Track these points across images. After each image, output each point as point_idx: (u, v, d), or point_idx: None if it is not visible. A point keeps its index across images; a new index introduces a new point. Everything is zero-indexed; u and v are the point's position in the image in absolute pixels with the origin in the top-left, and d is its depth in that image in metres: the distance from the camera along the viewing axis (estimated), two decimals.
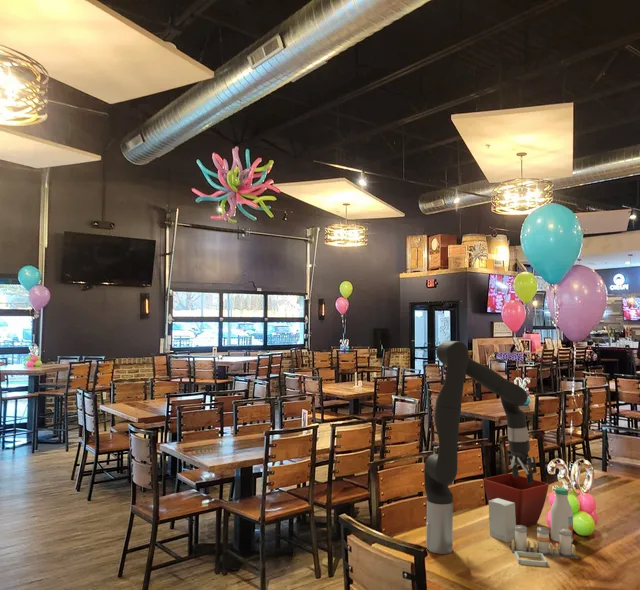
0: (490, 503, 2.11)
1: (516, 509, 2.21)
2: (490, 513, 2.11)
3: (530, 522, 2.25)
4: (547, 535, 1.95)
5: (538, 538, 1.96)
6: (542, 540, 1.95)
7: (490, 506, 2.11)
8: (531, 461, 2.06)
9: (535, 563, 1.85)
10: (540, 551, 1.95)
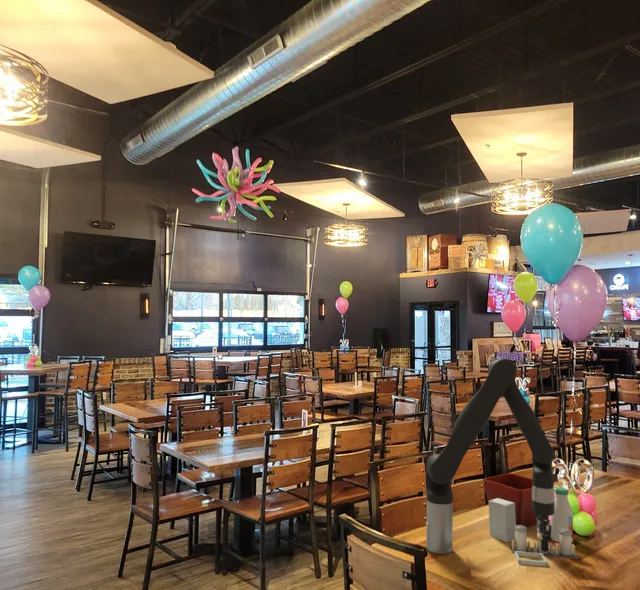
0: (490, 503, 2.11)
1: (516, 509, 2.21)
2: (490, 513, 2.11)
3: (530, 522, 2.25)
4: None
5: (538, 538, 1.96)
6: None
7: (490, 506, 2.11)
8: (546, 530, 1.90)
9: (535, 563, 1.85)
10: (540, 551, 1.95)
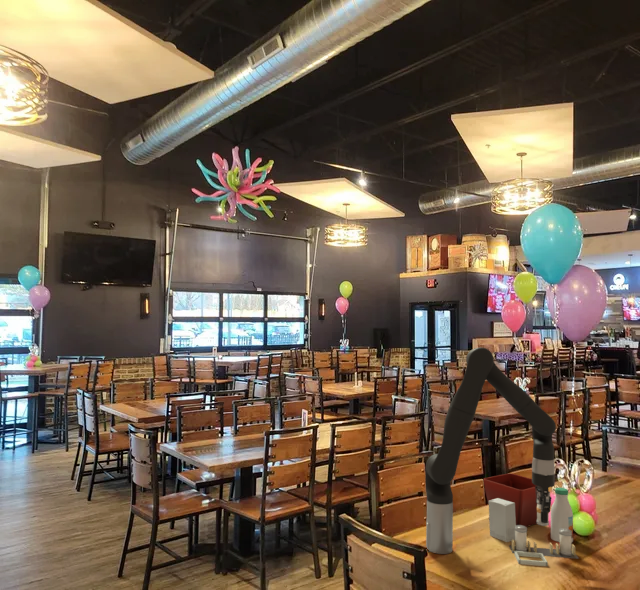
0: (490, 503, 2.11)
1: (516, 509, 2.21)
2: (490, 513, 2.11)
3: (530, 522, 2.25)
4: None
5: (538, 510, 1.96)
6: None
7: (490, 506, 2.11)
8: (546, 500, 1.91)
9: (535, 563, 1.85)
10: (540, 523, 1.95)
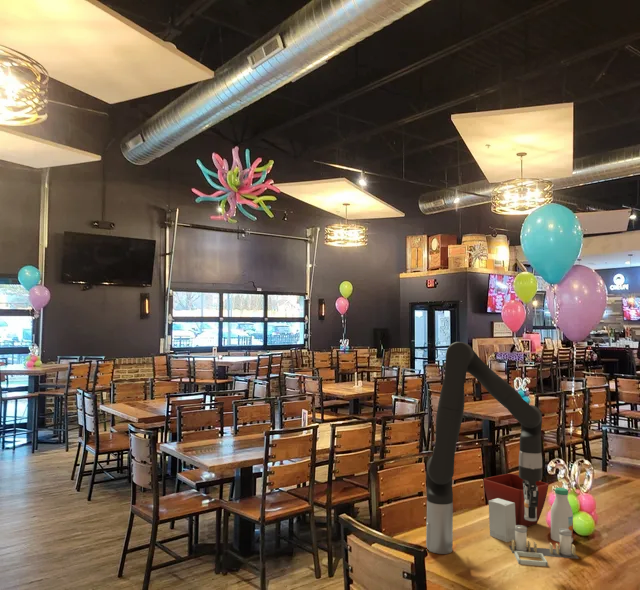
0: (490, 503, 2.11)
1: (516, 509, 2.21)
2: (490, 513, 2.11)
3: (530, 522, 2.25)
4: None
5: (525, 505, 1.89)
6: None
7: (490, 506, 2.11)
8: (533, 495, 1.84)
9: (535, 563, 1.85)
10: (528, 518, 1.88)
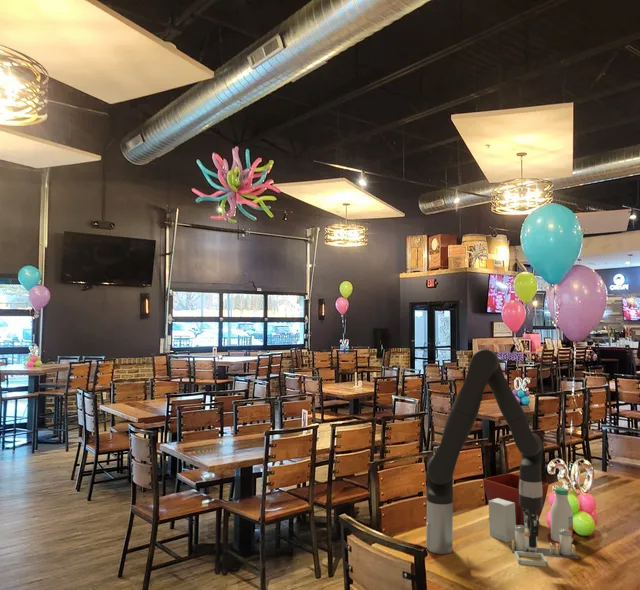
0: (490, 503, 2.11)
1: (516, 509, 2.21)
2: (490, 513, 2.11)
3: None
4: None
5: (526, 534, 1.89)
6: None
7: (490, 506, 2.11)
8: (533, 525, 1.83)
9: (535, 563, 1.85)
10: (528, 547, 1.88)
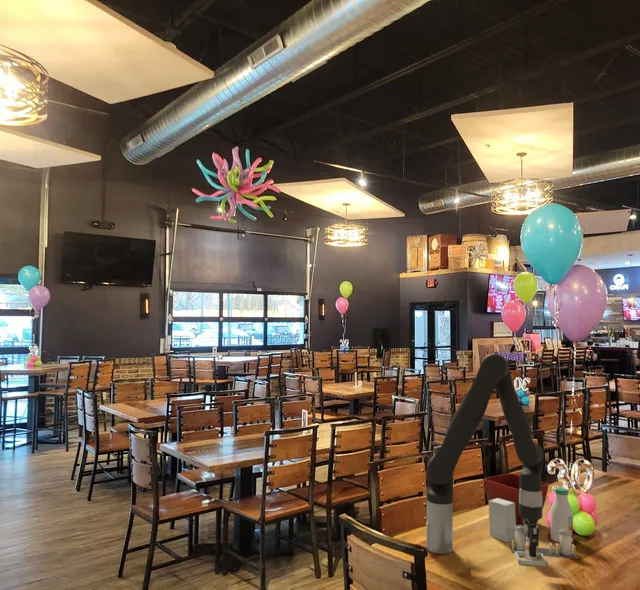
0: (490, 503, 2.11)
1: (516, 509, 2.21)
2: (490, 513, 2.11)
3: None
4: None
5: (526, 547, 1.88)
6: None
7: (490, 506, 2.11)
8: (533, 533, 1.83)
9: (535, 563, 1.85)
10: None
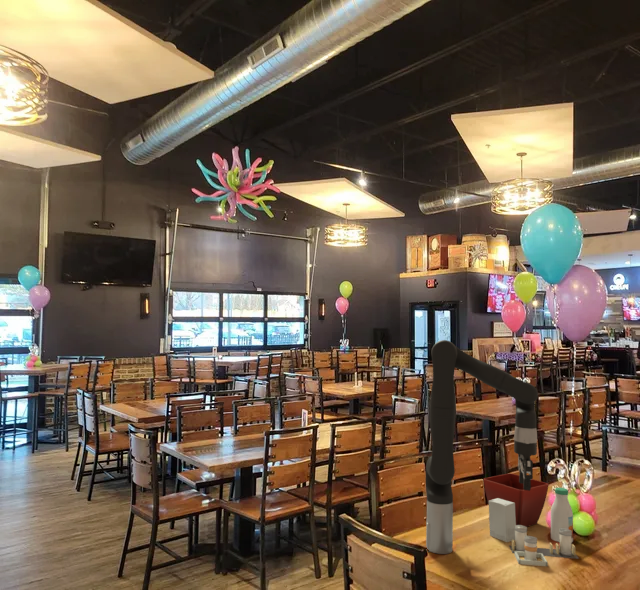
0: (490, 503, 2.11)
1: (516, 509, 2.21)
2: (490, 513, 2.11)
3: (530, 522, 2.25)
4: (535, 544, 1.88)
5: (526, 548, 1.88)
6: (530, 550, 1.87)
7: (490, 506, 2.11)
8: (527, 465, 1.89)
9: (535, 563, 1.85)
10: None
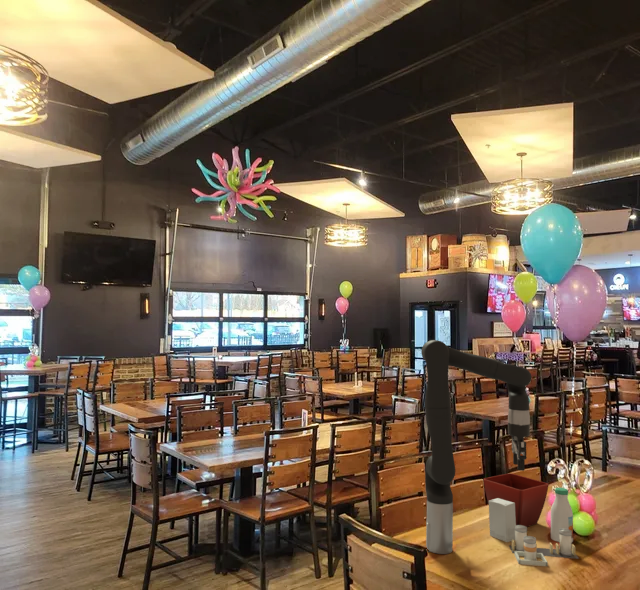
0: (490, 503, 2.11)
1: (516, 509, 2.21)
2: (490, 513, 2.11)
3: (530, 522, 2.25)
4: (534, 544, 1.87)
5: (525, 548, 1.88)
6: (529, 550, 1.87)
7: (490, 506, 2.11)
8: (521, 445, 1.94)
9: (535, 563, 1.85)
10: None
